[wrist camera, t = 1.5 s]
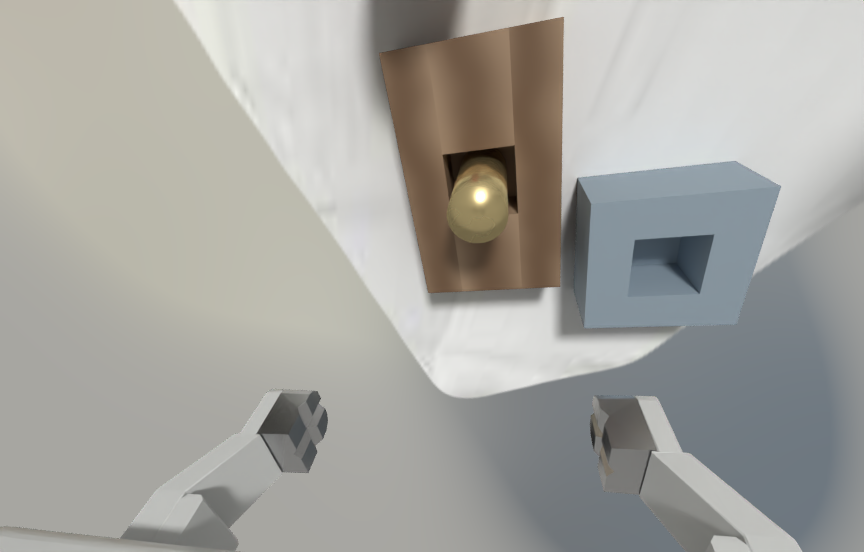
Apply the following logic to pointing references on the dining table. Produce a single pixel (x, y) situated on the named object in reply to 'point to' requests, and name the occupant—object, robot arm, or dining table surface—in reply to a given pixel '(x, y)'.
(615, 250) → the dock block
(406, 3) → the dining table surface
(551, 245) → the wooden socket block
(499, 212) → the brass pin
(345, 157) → the dining table surface
